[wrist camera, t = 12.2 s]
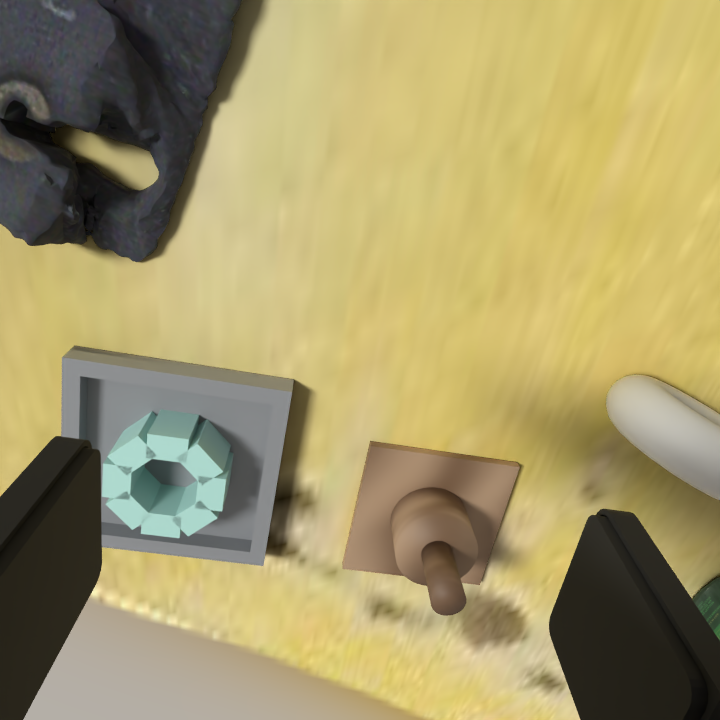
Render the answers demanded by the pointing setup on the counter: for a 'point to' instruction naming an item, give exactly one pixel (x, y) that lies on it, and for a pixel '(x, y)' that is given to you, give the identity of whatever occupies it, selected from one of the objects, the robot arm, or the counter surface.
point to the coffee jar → (710, 604)
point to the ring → (166, 502)
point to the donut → (669, 429)
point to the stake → (429, 518)
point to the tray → (210, 401)
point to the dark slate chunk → (102, 111)
